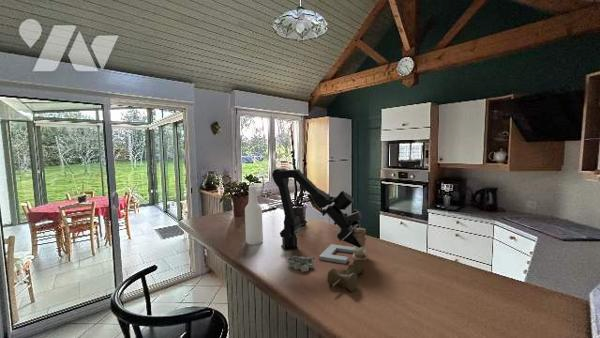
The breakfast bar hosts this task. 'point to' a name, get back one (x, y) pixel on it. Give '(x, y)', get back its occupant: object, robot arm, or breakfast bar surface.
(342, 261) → the notched board
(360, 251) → the bobbin
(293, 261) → the egg carton
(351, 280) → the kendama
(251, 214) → the alcohol
